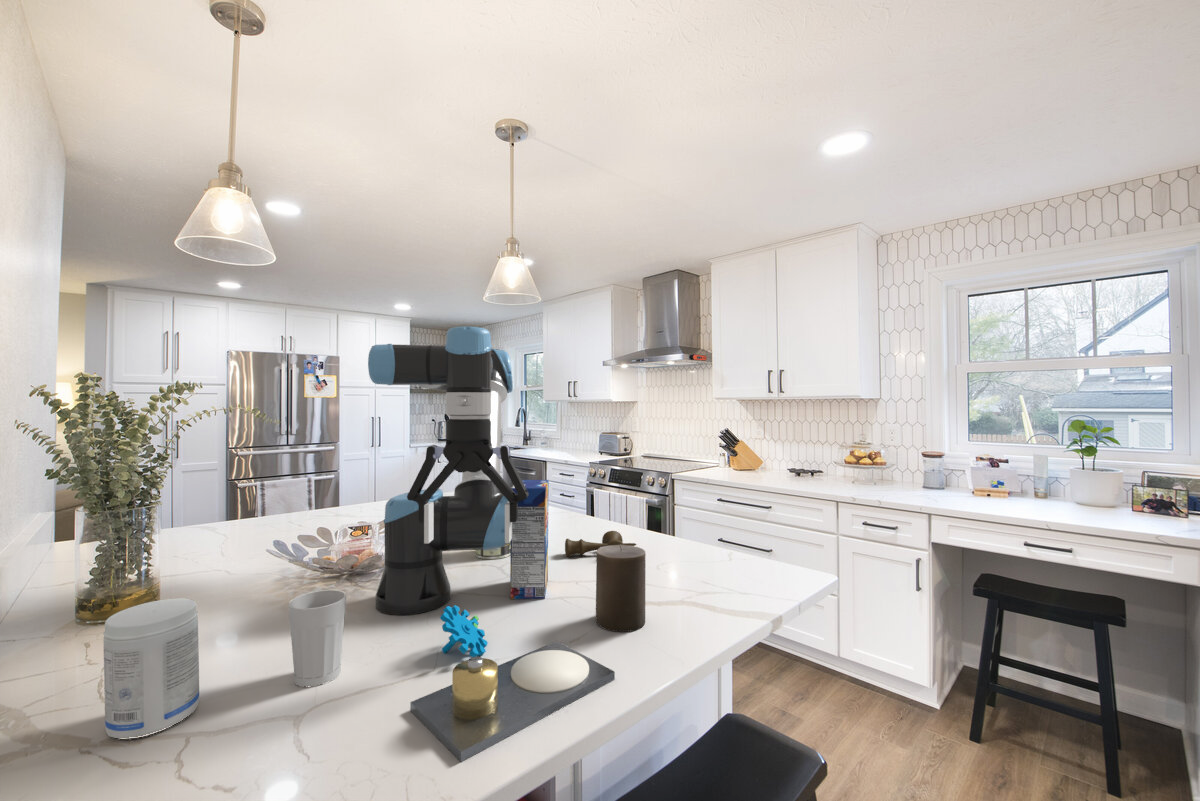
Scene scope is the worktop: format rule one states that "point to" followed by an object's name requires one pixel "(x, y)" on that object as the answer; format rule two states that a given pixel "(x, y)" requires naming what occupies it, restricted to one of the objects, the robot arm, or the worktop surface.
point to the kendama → (594, 544)
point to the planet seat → (549, 671)
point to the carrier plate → (507, 710)
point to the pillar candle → (620, 587)
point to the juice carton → (530, 543)
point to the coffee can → (495, 552)
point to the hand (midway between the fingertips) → (468, 541)
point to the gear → (463, 631)
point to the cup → (317, 635)
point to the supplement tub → (150, 667)
